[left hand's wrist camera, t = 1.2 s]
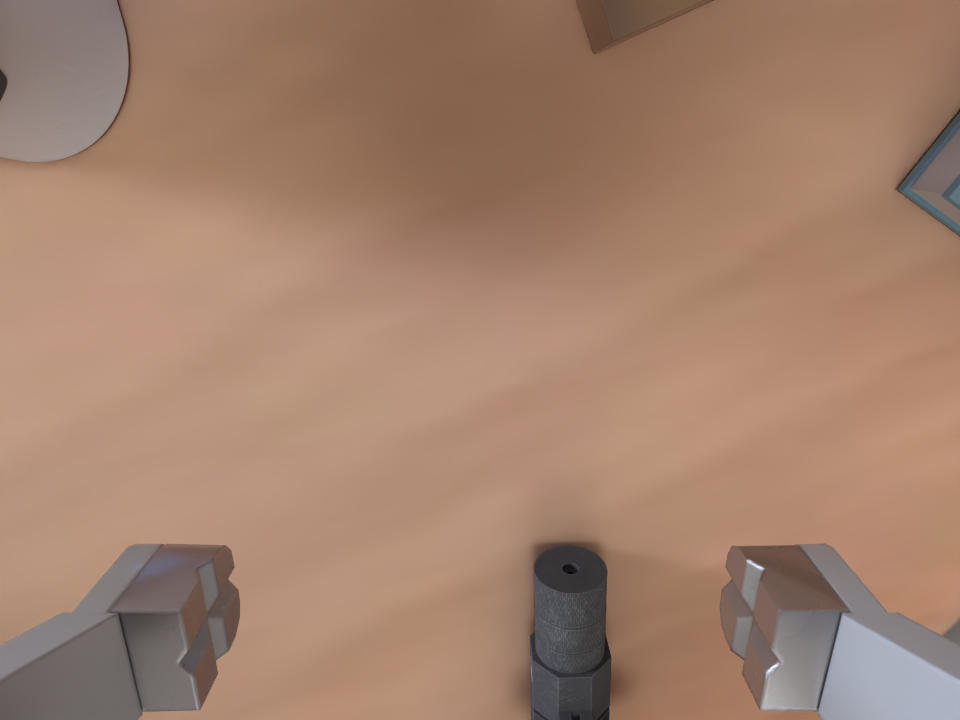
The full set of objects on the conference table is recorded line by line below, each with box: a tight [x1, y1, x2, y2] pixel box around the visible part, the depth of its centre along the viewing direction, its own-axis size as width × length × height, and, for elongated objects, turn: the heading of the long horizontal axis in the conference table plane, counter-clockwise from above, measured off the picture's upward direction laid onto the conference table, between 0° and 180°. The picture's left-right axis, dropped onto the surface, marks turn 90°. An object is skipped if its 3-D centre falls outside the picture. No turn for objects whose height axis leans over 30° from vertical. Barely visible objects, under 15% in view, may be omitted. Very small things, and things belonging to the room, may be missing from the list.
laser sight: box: [530, 546, 611, 720], centre depth 51 cm, size 10×22×10 cm, turn 2°
